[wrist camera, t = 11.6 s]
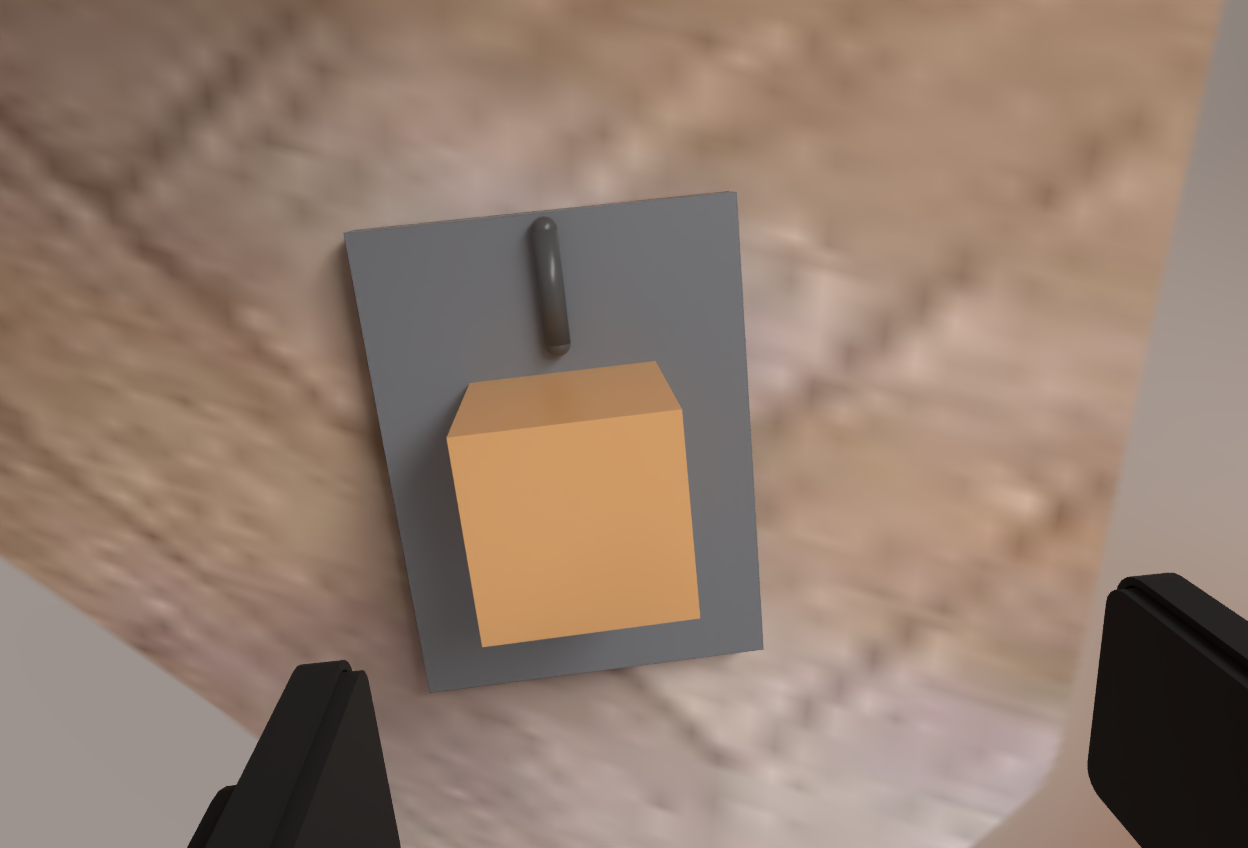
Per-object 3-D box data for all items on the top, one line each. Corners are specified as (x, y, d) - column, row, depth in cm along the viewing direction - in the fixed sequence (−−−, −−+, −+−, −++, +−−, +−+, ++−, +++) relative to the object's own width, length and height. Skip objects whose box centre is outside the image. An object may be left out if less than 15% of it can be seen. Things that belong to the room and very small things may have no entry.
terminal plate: (354, 230, 27) (305, 242, 22) (727, 191, 28) (767, 194, 22) (435, 669, 32) (411, 767, 26) (754, 628, 32) (793, 716, 27)
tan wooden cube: (469, 383, 27) (446, 437, 21) (655, 361, 27) (682, 409, 22) (496, 554, 29) (482, 647, 23) (671, 531, 29) (700, 618, 23)
